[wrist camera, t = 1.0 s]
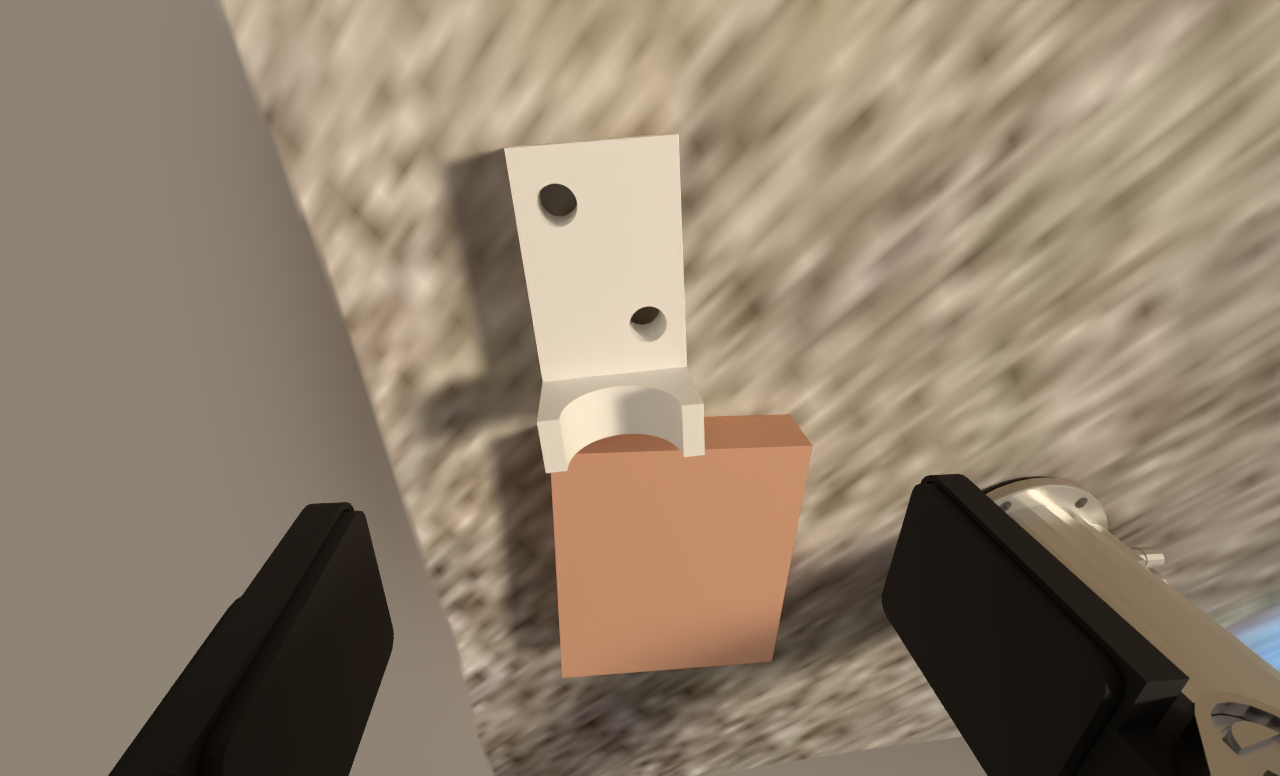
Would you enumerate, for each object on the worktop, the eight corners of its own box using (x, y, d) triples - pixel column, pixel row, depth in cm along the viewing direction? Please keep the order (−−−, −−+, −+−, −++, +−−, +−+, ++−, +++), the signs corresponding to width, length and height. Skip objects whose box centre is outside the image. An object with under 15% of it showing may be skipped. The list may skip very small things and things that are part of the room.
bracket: (677, 383, 31) (704, 455, 24) (553, 396, 31) (545, 473, 24) (666, 133, 25) (697, 135, 19) (513, 145, 25) (488, 152, 18)
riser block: (786, 410, 33) (812, 445, 29) (754, 613, 40) (771, 661, 37) (553, 417, 31) (549, 454, 28) (563, 626, 39) (562, 677, 35)
